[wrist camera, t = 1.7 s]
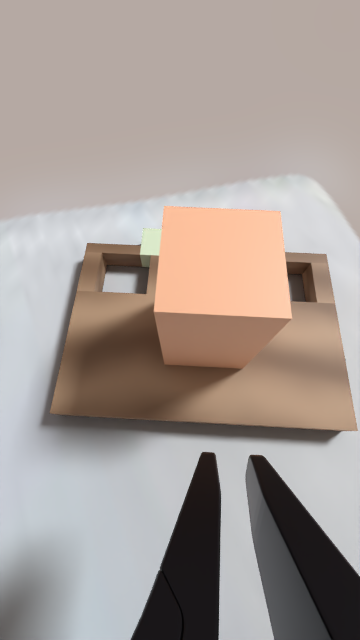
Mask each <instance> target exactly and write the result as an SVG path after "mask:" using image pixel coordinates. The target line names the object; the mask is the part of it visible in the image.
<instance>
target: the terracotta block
mask: <svg viewBox="0 0 360 640" xmlns="http://www.w3.org/2000/svg"><path fill="white" fill-rule="evenodd" d="M154 316H155V320H156V325H157V330H158V335H159V340H160V345H161V350H162V355H163V359H164V364H165V365H182V366H200V367H219V368H238V369H243V368H244V367H245V366H246V365H247V364H248V363H249V362H250V361H251V360H252V359H253V358H254V357H255V356H256V355H257V354H258V353H259V352H260V351H261V350H262V349H263V348H264V347H265V346H266V345H267V344H268V343H269V342H270V341H271V339H272V338H273V337H274V336H275V335H276V334H277V333H278V332H279V331H280V330H281V329H282V328H283V327H284V326H285V325H286V324H287V323H288V322H289V321H290V320H291V319H292V313H291V304H290V295H289V286H288V277H287V268H286V258H285V249H284V240H283V231H282V222H281V213H280V211H264V210H241V209H219V208H196V207H174V206H164V212H163V222H162V232H161V242H160V252H159V263H158V273H157V283H156V293H155V304H154Z"/></svg>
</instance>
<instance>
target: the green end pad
mask: <svg viewBox="0 0 360 640" xmlns="http://www.w3.org/2000/svg"><path fill="white" fill-rule="evenodd" d="M161 232H162V229H147V228H143V234H142V242H141V250H140V258H141V262H142V267H150V258H151V255H159V252H160V242H161Z"/></svg>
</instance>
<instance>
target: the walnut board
mask: <svg viewBox="0 0 360 640" xmlns="http://www.w3.org/2000/svg"><path fill="white" fill-rule="evenodd" d="M140 250H141V246H139V245H118V244H97V243H87V247H86V251H85V256H84V260H83V265H82V269H81V274H80V278H79V283H78V287H77V292H76V296H75V301H74V305H73V310H72V314H71V319H70V323H69V328H68V333H67V337H66V342H65V346H64V351H63V355H62V360H61V364H60V369H59V373H58V378H57V382H56V387H55V391H54V396H53V400H52V405H51V409H50V413H51V414H57V415H69V416H87V417H104V418H122V419H139V420H157V421H175V422H192V423H210V424H228V425H245V426H263V427H280V428H298V429H316V430H333V431H358V430H357V424H356V418H355V413H354V407H353V401H352V396H351V390H350V385H349V379H348V373H347V368H346V362H345V356H344V351H343V345H342V340H341V334H340V328H339V323H338V317H337V312H336V306H335V300H334V295H333V289H332V283H331V278H330V272H329V267H328V261H327V255H326V254H311V253H289V252H285V258H286V268H287V274H302V278H303V286H304V293H305V301H306V302H295V301H290V304H291V313H292V319H291V320H290V321H289V322H288V323H287V324H286V325H285V326H284V327H283V328H282V329H281V330H280V331H279V332H278V333H277V334H276V335H275V336H274V337H273V338H272V339H271V341H270V342H269V343H268V344H267V345H266V346H265V347H264V348H263V349H262V350H261V351H260V352H259V353H258V354H257V355H256V356H255V357H254V358H253V359H252V360H251V361H250V362H249V363H248V364H247V365H246V366H245V367H244V368H243V369H238V368H219V367H200V366H182V365H165V364H164V359H163V355H162V350H161V345H160V340H159V335H158V330H157V325H156V320H155V316H154V304H155V293H156V283H157V273H158V263H159V255H151V258H150V267H149V276H148V285H147V294H133V293H113V292H102V289H103V284H104V278H105V273H106V267H107V265H114V266H135V267H142V262H141V258H140Z"/></svg>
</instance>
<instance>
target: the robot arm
mask: <svg viewBox="0 0 360 640" xmlns="http://www.w3.org/2000/svg"><path fill="white" fill-rule="evenodd" d="M246 489H247V497H248V506H249V514H250V522H251V531H252V538H253V543H254V549H255V553H256V558H257V562H258V567H259V571H260V576H261V581H262V585H263V590H264V594H265V599H266V603H267V608H268V613H269V617H270V622H271V626H272V631H273V635H274V640H360V576H359V575H358V574H357V572H356V571H355V570H354V569H353V567H352V566H351V565H350V564H349V562H348V561H347V560H346V559H345V557H344V556H343V555H342V554H341V552H340V551H339V550H338V549H337V547H336V546H335V545H334V544H333V542H332V541H331V540H330V539H329V537H328V536H327V535H326V533H325V532H324V531H323V530H322V528H321V527H320V526H319V525H318V523H317V522H316V521H315V520H314V518H313V517H312V516H311V515H310V513H309V512H308V511H307V510H306V508H305V507H304V506H303V505H302V503H301V502H300V501H299V500H298V498H297V497H296V496H295V495H294V493H293V492H292V491H291V490H290V488H289V487H288V486H287V485H286V483H285V482H284V481H283V480H282V478H281V477H280V476H279V474H278V473H277V472H276V471H275V469H274V468H273V467H272V466H271V464H270V463H269V462H268V461H267V459H266V458H265V457H264V456H262V455H250V456H249V459H248V464H247V469H246ZM220 526H221V490H220V482H219V475H218V469H217V462H216V455H215V453H212V452H202V453H201V456H200V458H199V461H198V464H197V467H196V469H195V472H194V475H193V478H192V480H191V483H190V486H189V489H188V492H187V494H186V497H185V500H184V503H183V505H182V508H181V511H180V514H179V516H178V519H177V522H176V525H175V527H174V530H173V533H172V536H171V538H170V541H169V544H168V547H167V549H166V552H165V555H164V558H163V560H162V563H161V566H160V570H159V571H158V574H157V576H156V579H155V582H154V585H153V587H152V590H151V593H150V595H149V598H148V600H147V603H146V605H145V608H144V610H143V613H142V615H141V618H140V620H139V622H138V624H137V627H136V629H135V631H134V633H133V635H132V638H131V640H218V636H219V581H220Z"/></svg>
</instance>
